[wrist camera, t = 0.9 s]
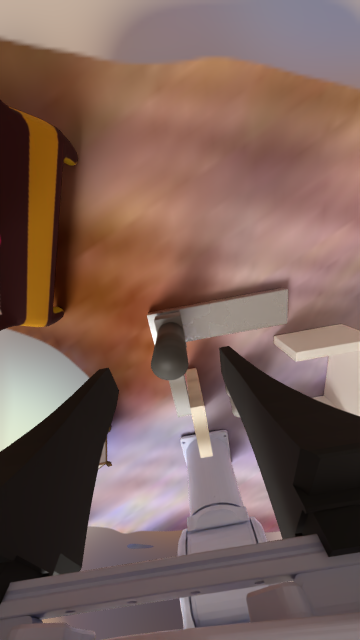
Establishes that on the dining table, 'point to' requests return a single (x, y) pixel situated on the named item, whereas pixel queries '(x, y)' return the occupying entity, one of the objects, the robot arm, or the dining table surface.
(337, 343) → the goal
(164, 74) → the dining table surface
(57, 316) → the decorative lantern
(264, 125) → the dining table surface
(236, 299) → the rail
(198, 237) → the dining table surface
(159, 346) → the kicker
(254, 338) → the dining table surface
